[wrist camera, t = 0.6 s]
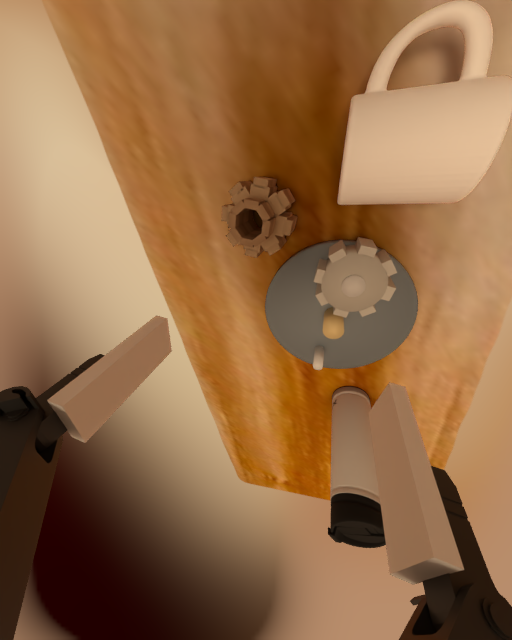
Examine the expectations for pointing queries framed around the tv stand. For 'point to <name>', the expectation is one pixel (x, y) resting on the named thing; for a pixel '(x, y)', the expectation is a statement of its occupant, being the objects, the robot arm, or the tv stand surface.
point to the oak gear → (269, 209)
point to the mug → (427, 121)
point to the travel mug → (354, 473)
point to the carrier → (341, 304)
